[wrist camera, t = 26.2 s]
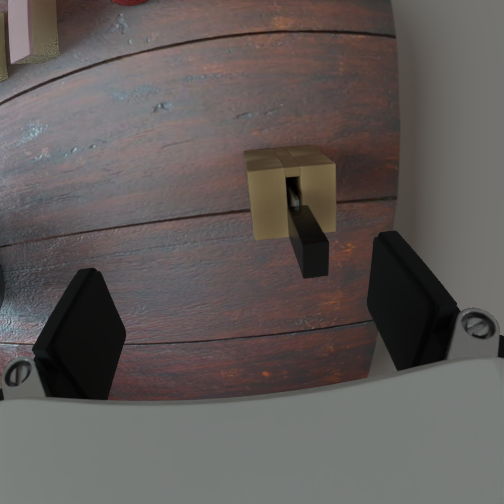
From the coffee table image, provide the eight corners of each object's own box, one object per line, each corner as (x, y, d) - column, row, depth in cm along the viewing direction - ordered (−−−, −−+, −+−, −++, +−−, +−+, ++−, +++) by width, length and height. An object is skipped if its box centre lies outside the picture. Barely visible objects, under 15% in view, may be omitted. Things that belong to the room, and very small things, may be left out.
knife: (286, 165, 32) (329, 235, 18) (288, 194, 34) (328, 281, 20) (270, 167, 32) (302, 238, 18) (273, 196, 34) (303, 284, 20)
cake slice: (56, -13, 20) (27, -24, 15) (60, 55, 24) (30, 54, 19) (37, -5, 20) (8, -13, 15) (41, 63, 24) (10, 64, 19)
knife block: (312, 144, 31) (335, 163, 24) (314, 199, 34) (336, 231, 27) (243, 151, 31) (247, 171, 24) (249, 206, 34) (254, 241, 27)
